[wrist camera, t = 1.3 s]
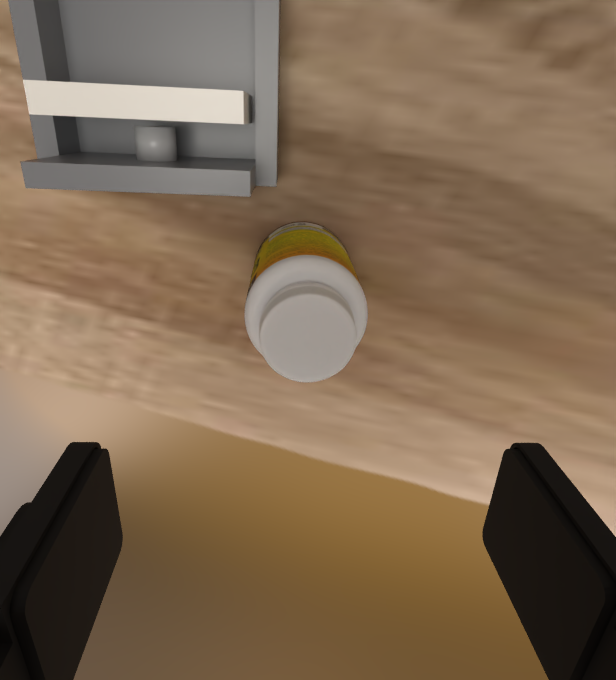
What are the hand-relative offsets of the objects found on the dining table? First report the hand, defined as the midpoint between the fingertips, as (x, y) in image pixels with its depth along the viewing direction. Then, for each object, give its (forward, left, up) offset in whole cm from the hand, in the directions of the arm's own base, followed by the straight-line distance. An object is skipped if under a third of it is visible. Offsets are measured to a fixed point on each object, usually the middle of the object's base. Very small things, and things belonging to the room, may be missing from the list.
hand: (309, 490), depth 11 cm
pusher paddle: (+7, -8, -17) cm, 20 cm away
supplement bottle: (0, 0, -19) cm, 19 cm away
